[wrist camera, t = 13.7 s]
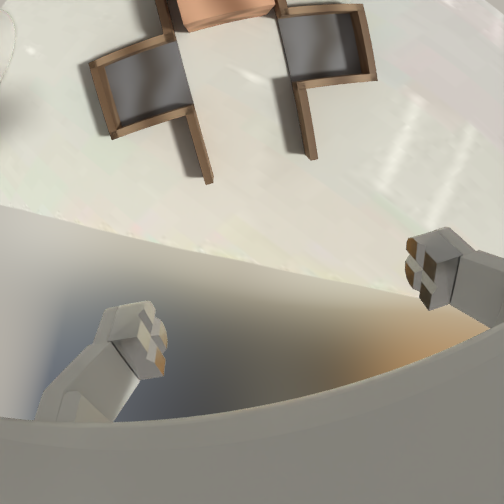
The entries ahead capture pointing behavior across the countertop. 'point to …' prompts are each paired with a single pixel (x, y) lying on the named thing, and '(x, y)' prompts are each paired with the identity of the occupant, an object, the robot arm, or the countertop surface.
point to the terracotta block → (220, 11)
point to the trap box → (176, 85)
